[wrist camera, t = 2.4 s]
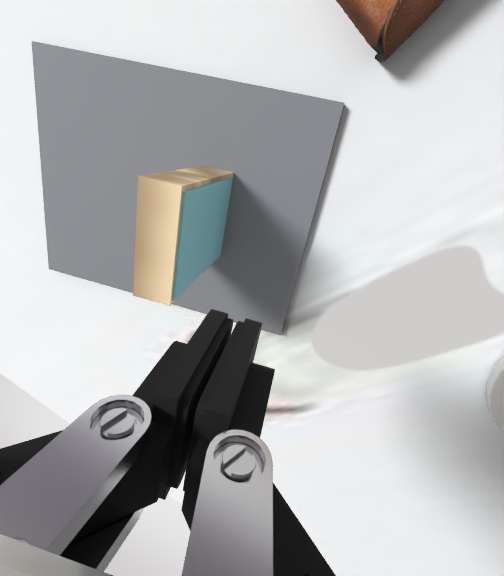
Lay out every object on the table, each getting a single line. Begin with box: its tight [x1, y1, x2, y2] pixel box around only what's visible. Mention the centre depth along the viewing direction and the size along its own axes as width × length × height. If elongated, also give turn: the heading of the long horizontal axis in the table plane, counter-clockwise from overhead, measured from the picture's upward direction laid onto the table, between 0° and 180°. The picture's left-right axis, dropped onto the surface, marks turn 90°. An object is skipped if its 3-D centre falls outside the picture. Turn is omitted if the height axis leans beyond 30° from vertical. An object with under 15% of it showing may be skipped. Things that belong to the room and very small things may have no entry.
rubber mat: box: [32, 41, 344, 335], centre depth 28 cm, size 24×19×1 cm
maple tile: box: [133, 166, 234, 306], centre depth 23 cm, size 2×7×10 cm, turn 169°
